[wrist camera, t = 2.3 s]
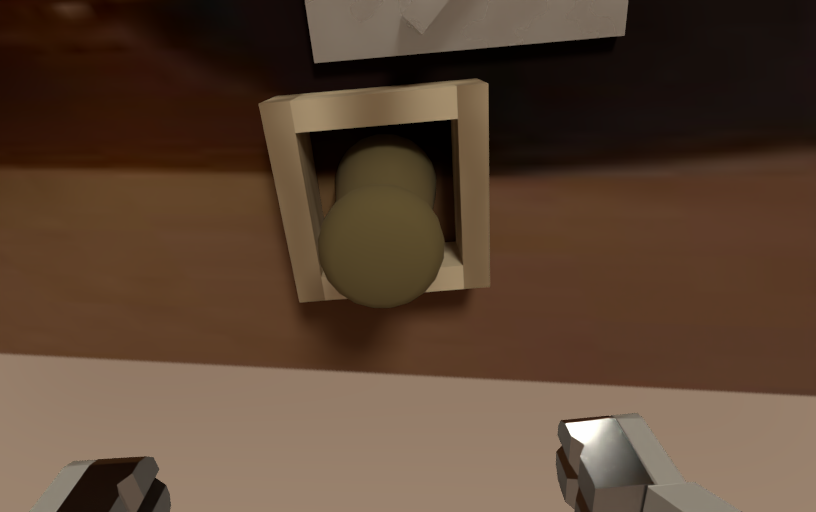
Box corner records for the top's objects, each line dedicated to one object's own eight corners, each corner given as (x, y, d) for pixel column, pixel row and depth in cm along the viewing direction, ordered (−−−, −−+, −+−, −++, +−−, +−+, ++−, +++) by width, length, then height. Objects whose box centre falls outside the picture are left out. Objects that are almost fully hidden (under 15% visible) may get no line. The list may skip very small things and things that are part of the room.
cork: (384, 110, 26) (378, 152, 16) (457, 185, 28) (492, 264, 18) (313, 185, 28) (267, 265, 18) (386, 250, 30) (382, 357, 20)
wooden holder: (476, 78, 25) (488, 83, 22) (480, 260, 30) (490, 286, 27) (275, 96, 26) (258, 103, 22) (309, 275, 30) (299, 302, 27)
